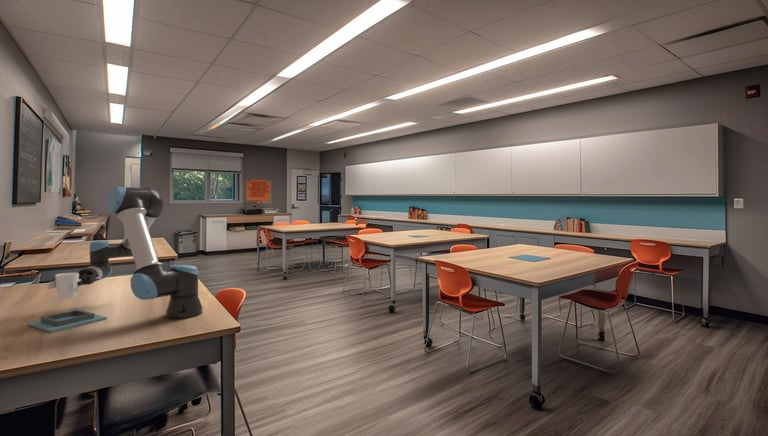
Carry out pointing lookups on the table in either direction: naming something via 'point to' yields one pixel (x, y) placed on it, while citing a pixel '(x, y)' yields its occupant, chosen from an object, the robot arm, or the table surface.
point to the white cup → (66, 285)
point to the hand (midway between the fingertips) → (60, 285)
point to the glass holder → (66, 320)
